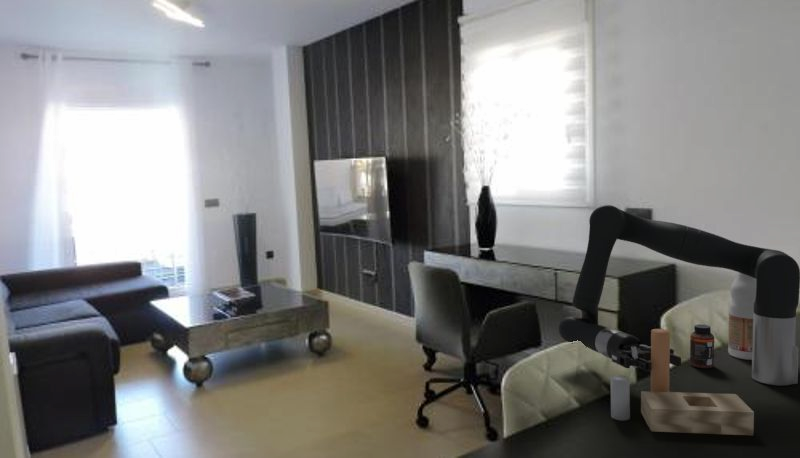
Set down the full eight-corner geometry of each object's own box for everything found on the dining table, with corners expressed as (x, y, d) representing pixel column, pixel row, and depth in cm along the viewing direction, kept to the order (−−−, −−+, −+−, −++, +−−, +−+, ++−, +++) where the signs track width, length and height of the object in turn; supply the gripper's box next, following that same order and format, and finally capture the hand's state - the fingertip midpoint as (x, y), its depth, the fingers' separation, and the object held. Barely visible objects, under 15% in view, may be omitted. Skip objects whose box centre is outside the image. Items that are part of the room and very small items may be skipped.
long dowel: (666, 403, 142) (667, 328, 140) (671, 409, 138) (672, 333, 136) (648, 402, 143) (649, 328, 141) (652, 409, 139) (653, 333, 137)
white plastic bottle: (723, 356, 174) (725, 260, 171) (734, 348, 181) (736, 256, 178) (759, 363, 167) (762, 263, 164) (769, 354, 174) (772, 259, 171)
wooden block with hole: (735, 415, 134) (736, 394, 134) (753, 435, 124) (754, 412, 124) (640, 412, 138) (641, 391, 137) (651, 431, 128) (651, 408, 127)
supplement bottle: (716, 369, 163) (717, 329, 162) (693, 369, 164) (693, 328, 163) (710, 362, 169) (710, 323, 168) (687, 361, 170) (687, 322, 169)
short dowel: (627, 413, 137) (627, 375, 136) (631, 420, 133) (631, 381, 132) (609, 412, 138) (609, 375, 137) (612, 420, 134) (612, 381, 133)
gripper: (594, 335, 150) (640, 353, 135) (640, 328, 155) (689, 344, 140) (594, 364, 151) (640, 385, 136) (640, 356, 156) (689, 375, 141)
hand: (665, 364), depth 138 cm, fingers open, 8 cm apart
